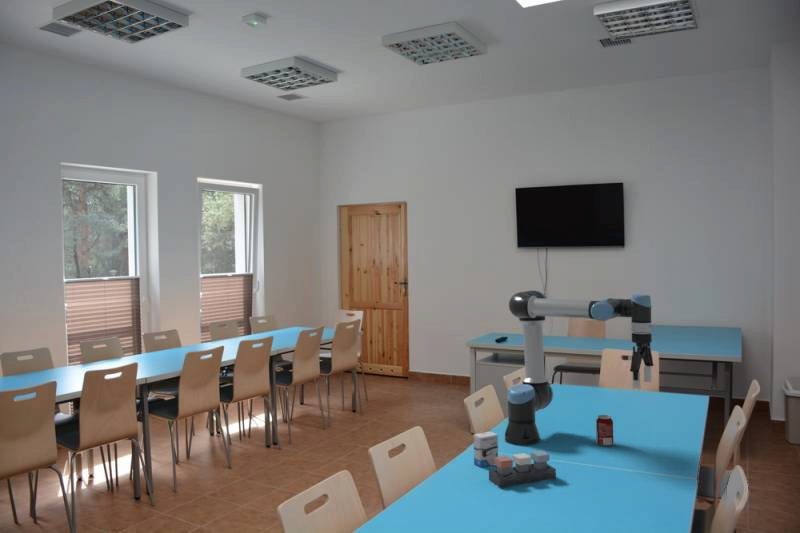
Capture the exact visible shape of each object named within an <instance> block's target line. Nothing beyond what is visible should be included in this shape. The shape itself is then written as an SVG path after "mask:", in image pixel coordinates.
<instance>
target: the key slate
mask: <svg viewBox="0 0 800 533" xmlns="http://www.w3.org/2000/svg"><path fill="white" fill-rule="evenodd" d="M530 457H531V460H533V464H534V467H535V468H536V469H538V470H542V469H547V464H548V463H547V462H549V461H550V453H548V452H545V451H544V450H538V451H537V450H536V451H531V452H530Z"/></svg>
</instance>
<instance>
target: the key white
mask: <svg viewBox="0 0 800 533" xmlns="http://www.w3.org/2000/svg"><path fill="white" fill-rule="evenodd" d="M512 460H513V463H514V464H515V467H516V470H517V471H518V472H520V473H523V472H529V464H532V459H531V455H529V454H527V453H524V452H523V453H517V454H512Z"/></svg>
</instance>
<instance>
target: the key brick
mask: <svg viewBox="0 0 800 533" xmlns="http://www.w3.org/2000/svg"><path fill="white" fill-rule="evenodd" d="M494 461H495V466H496V468H497V473H499V474H500V475H501V476H504V475H510V467H514V465H513V464H514V462H513V458H510V456H507V455H502V456H498V457H494Z"/></svg>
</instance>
